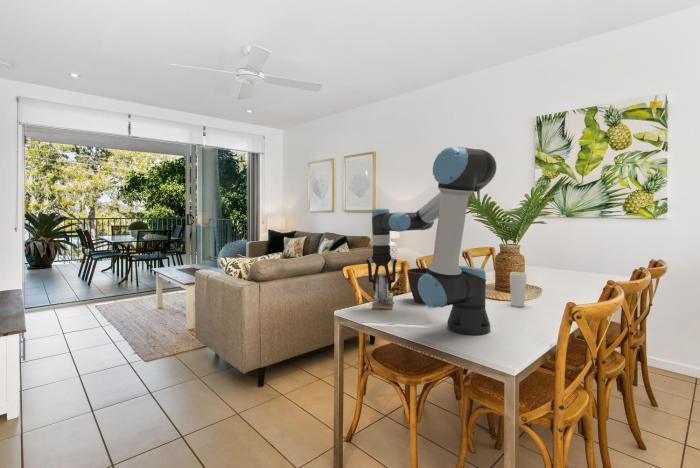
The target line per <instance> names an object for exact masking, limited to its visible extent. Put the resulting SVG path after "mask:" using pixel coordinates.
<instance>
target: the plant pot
mask: <svg viewBox="0 0 700 468" xmlns="http://www.w3.org/2000/svg"><path fill="white" fill-rule="evenodd" d="M406 272H407V279H408V283H409V284H408V285H409V288H410V292H411V294H412V299H413V301H414V303H415V304H419V305H427V304H426V303H425V302H424V301H423V300H422V298H421V296H420V294H419V291H418V281H419V278H420V277H421V276H422V275H424V274H426V273H427V267H418V268H417V267H416V268H415V267H414V268H409V269H407V270H406Z"/></svg>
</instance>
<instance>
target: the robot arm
mask: <svg viewBox="0 0 700 468" xmlns="http://www.w3.org/2000/svg"><path fill="white" fill-rule="evenodd" d="M496 173H497V161H496V160H495V158H494V156H493V155H492V153H491V152H490V151H489V152H488V151H487V150H485V149H481V148H480V149H479V148H470V147H463V146H462V147H461V146H449V147H446V148H444V149H442V150H441V151H440V153H438V154H437V156H436V157H435V159H434V162H433V164H432V175H433V176H434V177H433V178H434V180H435V181H436V182H437V183H438V184H437V189H438V191H440V192H438V194H437V193H436V195H435V196H433V197H431V199H430V200H429V201H428V202H427V203H426V204H424V205H423V206H422V207H421V208H420V209H418V210H417V211H415V212H402V211H401V212H398V211H397V212H390V210H389V208H374V209H373V210H372V211H371V228H372V229H371V231H372V238H371V239H372V244H373V245H372V256H371V258H367V259H366V264H367V271H368V282H369V283H372V284H373V285H372V287H373V288H372V289H373V291H374V292H375V294H376V299H378V279H377V275H379V268H380V267H384V270H385V274H386V275H387V284H386V287H387V299H389V293H390V291H392V283H395V282H396V274H397V273H396V268H397V266H396V265H397V262H398V259H397V258H394V257H392V255H391V245H390V244H391V233H390V232H397V233H399V232H406V231H409V232H410V231H425V230H430V229H432V227H433V226H434V224H435V223H434V222H435V221H436V220H437V224H436V225H437V226H436V232H435V233H436V234H435V241H434V249H433V254H432V261H431V262H430V263H428V264H427V267H426V268H427V273H426V274H424V275H422V276H421V277H420V278H419V281H418V291H419V294H420V296H421V298H422V300H423V301H424V302H425V303H426V304H425V305H427V307H430V308H445V307H446V306H451V310H450V313H449V315H448V319H447V322H446V323H447V325H446V326H447V329H448V330H450V331H451V332H454V333H456V334H461V335H468V336H469V335H470V336H480V335H486V334H489V333H490V332H491V323H490V319H489V317H488V313H487V309H486V295H487V294H486V292H487V291H486V290H487V289H486V288H487V286H486V285H487V284H486V283H487V278H486V277H487V276H486V274H487V273H486V271H485V269H484V268H481V267H480V268H479V267H474V266H466V265H465V266H464V265H459V266H458V262H459V261H460V254H461V248H462V241H463V236H464V228H465V222H466V217H467V216H466V215H467V210H468V209H467V208H468V203H469V197H470V195H472V194H473V193H477V192H480V190H482V189H484V187H486V186H487V185H488V184H489V183H491V181H492V180H493V179H494V178H495V176H496ZM390 262H391V264H392V269H391V270H392V271H391V272H392V277H391V273H390V269H389V263H390ZM373 263H374V264H375V267H374V268H375V269H374V275H373V272H372V271H373V269H372V264H373Z"/></svg>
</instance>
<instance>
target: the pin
mask: <svg viewBox="0 0 700 468" xmlns="http://www.w3.org/2000/svg"><path fill="white" fill-rule="evenodd" d="M377 283H378V303H387V287H386V284H387V283H388V280H387V275H386V273H385V274H384V273H380V274H379V273H378V275H377Z"/></svg>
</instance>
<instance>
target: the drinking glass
mask: <svg viewBox="0 0 700 468" xmlns="http://www.w3.org/2000/svg"><path fill="white" fill-rule="evenodd" d="M526 285H527V273H526V272H522V271H511V272H510V273H509V288H510V290H509V291H510V304H511V306H512V307H516V308H523V307H524V305H525V297H526V295H525V294H526V288H527V287H526Z"/></svg>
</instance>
